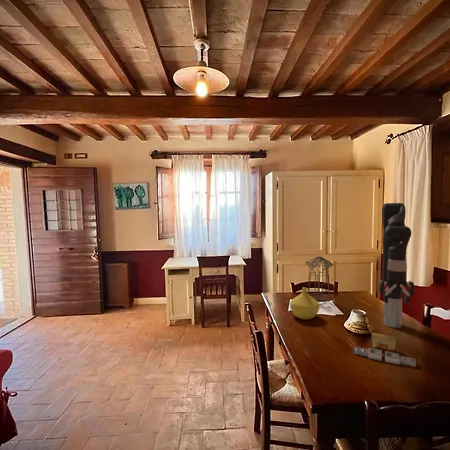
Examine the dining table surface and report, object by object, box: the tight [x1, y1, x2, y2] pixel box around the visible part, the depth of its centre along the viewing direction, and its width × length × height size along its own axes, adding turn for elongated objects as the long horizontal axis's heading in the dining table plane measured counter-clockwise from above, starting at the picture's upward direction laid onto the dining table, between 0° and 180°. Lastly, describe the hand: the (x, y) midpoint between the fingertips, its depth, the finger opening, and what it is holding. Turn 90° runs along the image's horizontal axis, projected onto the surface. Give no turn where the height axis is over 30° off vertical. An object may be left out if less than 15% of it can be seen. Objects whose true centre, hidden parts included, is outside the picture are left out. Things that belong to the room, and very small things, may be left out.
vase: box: [289, 286, 320, 320], centre depth 185 cm, size 18×18×19 cm
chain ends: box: [353, 346, 417, 368], centre depth 133 cm, size 6×25×3 cm, turn 61°
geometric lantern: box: [305, 255, 334, 306], centre depth 212 cm, size 16×16×35 cm
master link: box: [371, 332, 397, 352], centre depth 142 cm, size 3×10×6 cm, turn 61°
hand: (396, 303), depth 132 cm, fingers open, 8 cm apart
